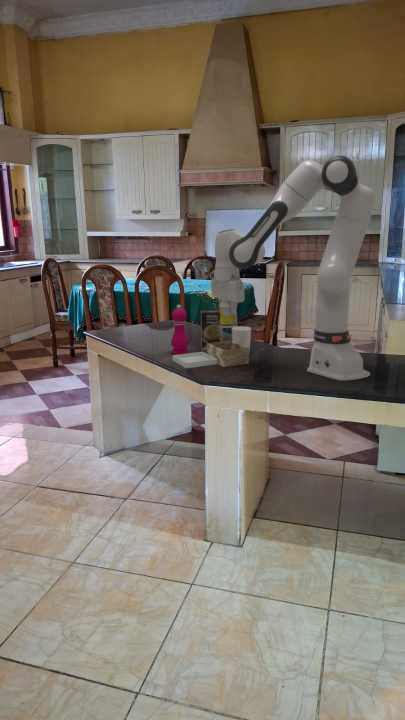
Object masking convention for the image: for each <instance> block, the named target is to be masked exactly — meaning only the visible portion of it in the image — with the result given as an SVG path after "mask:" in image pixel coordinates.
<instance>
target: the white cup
mask: <svg viewBox="0 0 405 720" xmlns="http://www.w3.org/2000/svg"><path fill="white" fill-rule="evenodd" d="M251 335H252V327H250V326H235V327H231V341H233V342H235V343H238V344H240V345H243V346H245V347H247V348H249V353H250V351H251V350H250V347H251V337H252V336H251Z"/></svg>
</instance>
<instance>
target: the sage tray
mask: <svg viewBox="0 0 405 720" xmlns="http://www.w3.org/2000/svg"><path fill="white" fill-rule="evenodd" d="M172 361H173V362H175V363H176V364H178V365H179V366H181V367H182V368H184V369H191V368H192V369H193V368H199V367H205V366H206V367H207V366H214V365H215V366H216V365H219V364H218V359H216V358H214V357H212V356H210V355H208V354H207V352H205V351H200V352H199V351H198V352H190V353H189V352H188V353H187V354H181V355H174V354H172Z"/></svg>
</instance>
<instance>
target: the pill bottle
mask: <svg viewBox="0 0 405 720" xmlns="http://www.w3.org/2000/svg"><path fill="white" fill-rule="evenodd" d="M221 300H222V302H221V303H220V304H219V305H218V306H219V307H218V308H219V309H218V310H219V312H220V326H221V327H223V329H226V328H227V329H228V328H229V329H232V328H233V327H238V315H237V314H238V311H237V309H238V307H236V313H234V314H232V313H230V308H231V305H232V304H231V301H227V300H226V299H225V297H224V296H221Z"/></svg>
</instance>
